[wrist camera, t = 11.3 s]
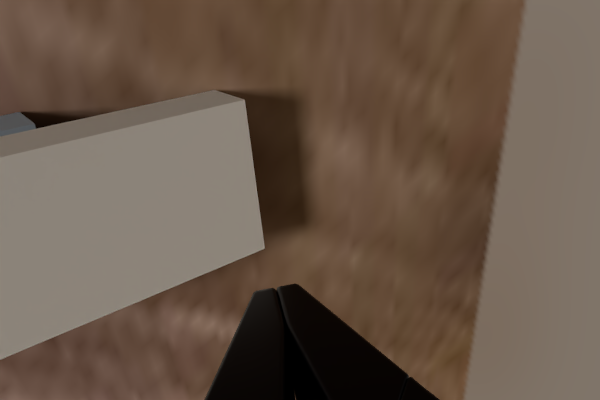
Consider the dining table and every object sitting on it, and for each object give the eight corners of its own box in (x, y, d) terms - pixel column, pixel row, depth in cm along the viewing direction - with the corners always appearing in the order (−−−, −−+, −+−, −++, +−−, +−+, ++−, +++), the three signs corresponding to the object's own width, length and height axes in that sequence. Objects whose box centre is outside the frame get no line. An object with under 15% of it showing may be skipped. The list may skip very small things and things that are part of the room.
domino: (244, 99, 14) (-232, 211, 9) (264, 248, 16) (-107, 404, 11) (214, 89, 15) (-205, 181, 10) (236, 226, 17) (-101, 355, 12)
